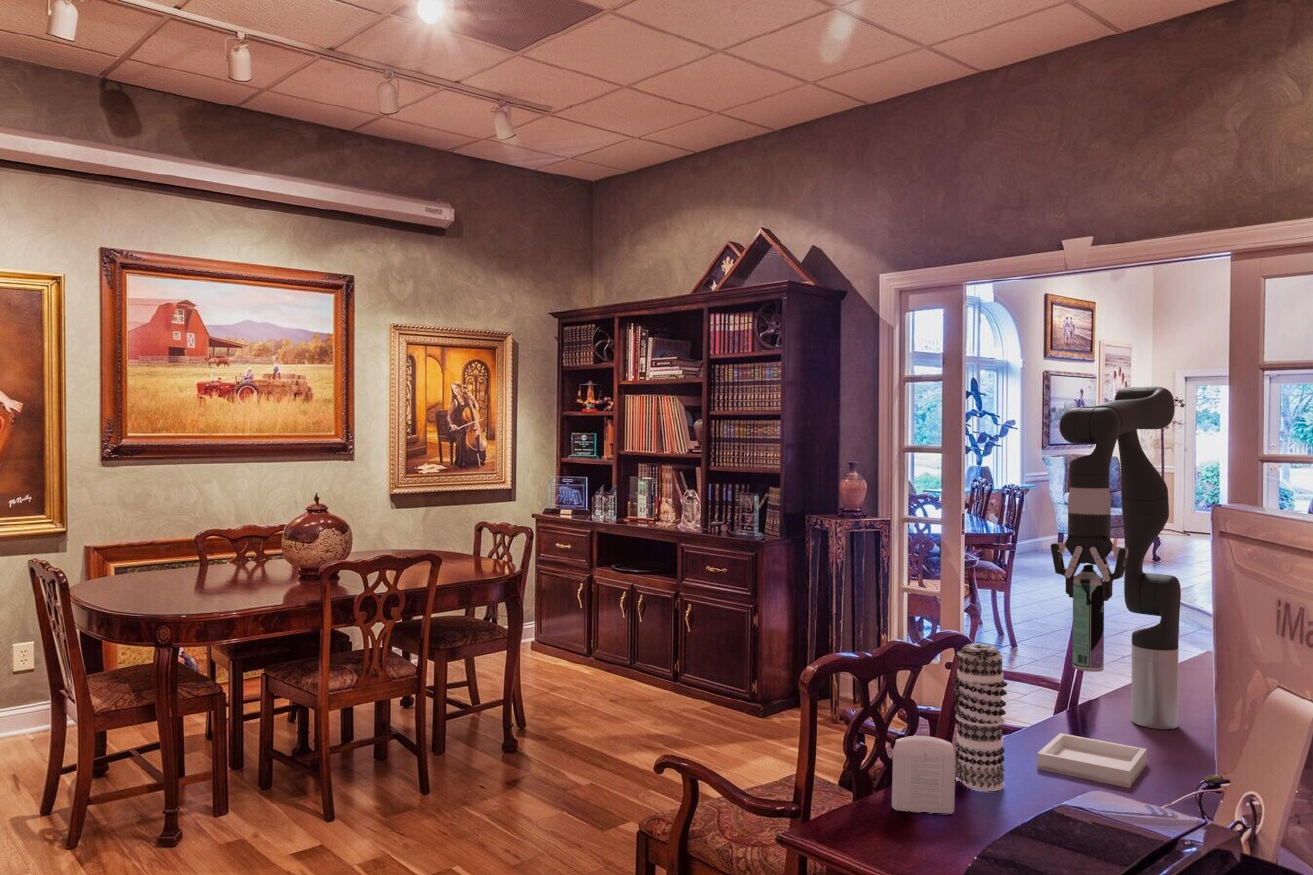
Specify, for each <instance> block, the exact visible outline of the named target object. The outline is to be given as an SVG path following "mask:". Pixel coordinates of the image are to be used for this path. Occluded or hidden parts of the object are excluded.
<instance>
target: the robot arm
mask: <svg viewBox="0 0 1313 875" xmlns="http://www.w3.org/2000/svg"><path fill="white" fill-rule="evenodd" d="M1175 406H1176V405H1175V400H1174V395H1173V394H1172V391H1170V390H1169V389H1167V388H1165V387H1163V386H1162V387H1161V386H1126V387H1125V386H1124V387H1121V388H1119V389H1118V390H1117V392H1116V393H1115V396H1114V400H1110V401H1106V402H1103V403H1100V404H1097V405H1091V406H1090V405H1089V406H1087V405H1086V406H1079V407H1072V408H1069V409H1067V410H1066V411H1065V412H1064V413H1063V415H1062V416H1061V417H1060V419H1059V429H1058V430H1059V434H1061V437H1062V438H1063V439H1064V440H1065V441H1066V442H1067V443H1069V444H1073V445H1095V447H1094V449H1093V451H1092V452H1091V453H1090V454H1087V455H1083V456H1077V457H1074V458H1072V459H1071V460H1070V462H1069V491H1068V498H1067V539H1066V540H1065V542H1054V543H1052V544H1050V551H1051V556H1052V561H1053V566H1054V572H1055V574H1058V575H1061V576H1062V577H1064V578H1065V594H1067V595H1068V598H1072V599H1073V580H1074V576H1076V575H1075V574H1076V572H1077V570H1078V569H1079V567H1080V565H1081V564H1082V565H1083V564H1088V565H1093V566H1094V565H1096V567H1097V570H1098V571H1099V573H1100V574H1101V575H1100V576H1101V577H1102V578H1103V579H1104V580H1103V582H1102V600H1103V601H1104V602H1107V601H1109V599H1111V598H1112V597H1113V584H1114V583H1113V582H1114V581H1116V580H1119V579H1121V578H1123V577H1124V578H1123V579H1124V580H1123V583H1124V584H1123V592H1124V594H1123V595H1124V604H1125V606H1126V609H1127V610H1128V611H1129V612H1130V613H1133V614H1137V615H1139V614H1140V615H1145V616H1146V615H1147V616H1155V617H1160V620H1159V623H1158V624H1155V625H1154V626H1149V627H1146V628H1139V629H1136V630H1134V631H1132V632H1131V633H1132V634H1131V692H1130V693H1131V695H1130V696H1131V702H1130V703H1131V704H1130V706H1131V707H1130V708H1131V709H1130V710H1131V711H1130V713H1131V715H1130V716H1131V717H1130V718H1131V720H1130V721H1131V722H1132V723H1134V724H1135V725H1138V726H1142V727H1145V728H1149V729H1155V730H1158V729H1159V730H1173V729H1174V730H1175V729H1176V728H1178V727H1179V639H1180V638H1179V637H1180V613H1181V612H1180V611H1181V600H1182V599H1181V597H1182V592H1181V583H1180V581H1179V578H1177V577H1176V576H1174V575H1170V574H1162V573H1149V572H1144V571H1143V565H1144V559H1145V556H1146V555H1147V553H1148V551H1149V549H1150V547H1151V546H1152V544H1153V543H1154V542H1155V540H1156V538H1158V536H1159V535H1160V534H1161V532H1162V531H1163V529H1164V527H1166V524H1167V522H1168V520H1169V518H1170V506H1169V504H1170V502H1169V501H1170V500H1169V490H1168V489H1169V488H1168V485H1167V483H1166V481H1165V480H1164V478H1163V476H1162V475H1161V474H1160V472H1159V471H1158V470H1157V468H1156V467H1155V466H1154V464H1153V463H1152V462H1151V461H1150V459H1149V458H1148V457H1147V455H1146V453H1145V452H1144V449H1143V448H1142V445H1141V442H1140V438H1139V434H1138V430H1161V429H1165V428H1167V427H1168V426H1170V424H1171V423H1172V421H1173V419H1174V416H1175V410H1176V409H1175V408H1176V407H1175ZM1116 444H1117V445H1118V452H1119V461H1120V462H1119V464H1120V465H1119V466H1120V485H1121V486H1120V493H1121V494H1120V495H1121V497H1120V498H1121V513H1122V523H1123V524H1122V525H1123V536H1124V539H1123V540H1124V547H1120V546H1116V545H1114V544H1113V542H1112V540H1111V533H1112V532H1111V530H1112V529H1111V522H1112V521H1111V520H1112V519H1111V518H1112V517H1111V516H1112V515H1111V511H1112V508H1111V507H1112V501H1111V492H1110V474H1111V472H1110V469H1111V462H1112V457H1113V453H1114V450H1115V447H1116ZM1065 549H1067V551H1068V552H1069V553H1070V555H1071V558H1070V560H1069V562H1068V564H1067V565H1068V566H1067V568H1065V567H1066V566H1065V563H1064V556H1063V554H1064V553H1065ZM1112 552H1113V556H1114V558H1116V562H1115V567H1114V572H1112V570H1111V568H1110V564H1109V562H1108V559H1107V557H1108V556H1109V555H1110V554H1111V553H1112Z"/></svg>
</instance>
